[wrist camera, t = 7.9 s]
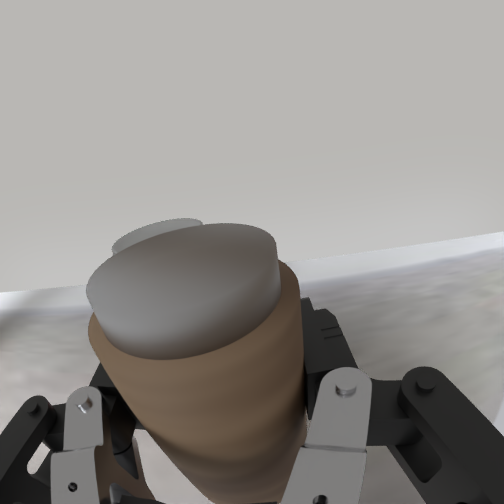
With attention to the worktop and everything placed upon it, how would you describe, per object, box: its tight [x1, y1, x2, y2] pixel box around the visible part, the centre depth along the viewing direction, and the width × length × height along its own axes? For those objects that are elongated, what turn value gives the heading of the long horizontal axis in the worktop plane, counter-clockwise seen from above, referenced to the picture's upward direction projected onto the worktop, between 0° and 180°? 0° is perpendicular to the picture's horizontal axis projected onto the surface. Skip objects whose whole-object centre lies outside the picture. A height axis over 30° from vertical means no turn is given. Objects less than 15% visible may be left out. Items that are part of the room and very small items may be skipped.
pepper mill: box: [86, 223, 307, 504], centre depth 8 cm, size 5×5×10 cm
